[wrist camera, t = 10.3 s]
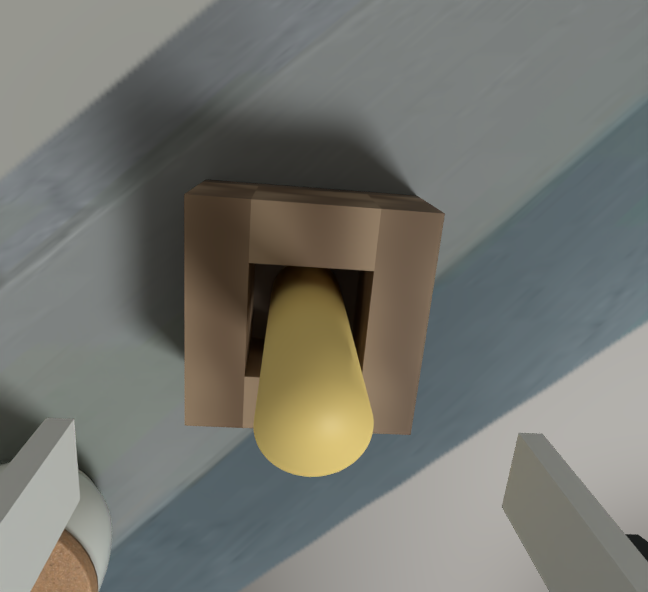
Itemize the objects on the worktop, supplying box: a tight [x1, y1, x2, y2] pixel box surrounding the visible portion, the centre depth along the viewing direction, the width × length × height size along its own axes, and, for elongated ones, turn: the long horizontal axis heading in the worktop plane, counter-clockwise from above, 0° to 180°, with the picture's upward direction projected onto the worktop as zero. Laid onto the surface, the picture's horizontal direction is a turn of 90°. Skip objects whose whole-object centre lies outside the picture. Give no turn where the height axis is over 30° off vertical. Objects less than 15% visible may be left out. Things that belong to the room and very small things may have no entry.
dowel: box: [253, 266, 374, 477], centre depth 24 cm, size 4×4×14 cm
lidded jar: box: [0, 463, 112, 592], centre depth 31 cm, size 11×11×9 cm
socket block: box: [184, 180, 445, 435], centre depth 29 cm, size 12×12×6 cm
